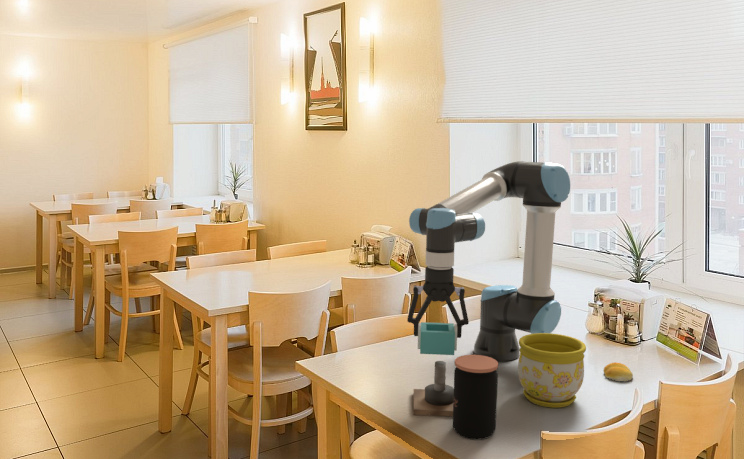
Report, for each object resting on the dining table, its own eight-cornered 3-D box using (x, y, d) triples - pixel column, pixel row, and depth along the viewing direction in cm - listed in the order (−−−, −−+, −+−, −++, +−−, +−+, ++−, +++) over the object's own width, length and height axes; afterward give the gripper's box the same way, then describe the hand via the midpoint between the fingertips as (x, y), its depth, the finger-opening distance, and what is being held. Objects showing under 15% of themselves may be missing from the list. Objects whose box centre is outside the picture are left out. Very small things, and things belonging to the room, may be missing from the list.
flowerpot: (539, 381, 198) (541, 328, 195) (594, 399, 185) (598, 343, 183) (503, 397, 186) (505, 341, 183) (560, 418, 173) (563, 358, 170)
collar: (452, 344, 183) (453, 323, 182) (454, 355, 174) (455, 333, 173) (420, 343, 184) (420, 322, 183) (420, 353, 175) (420, 331, 174)
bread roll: (606, 381, 199) (607, 369, 199) (601, 371, 208) (602, 359, 207) (635, 383, 198) (636, 371, 197) (629, 373, 207) (630, 360, 206)
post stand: (463, 395, 187) (464, 354, 185) (467, 416, 173) (468, 373, 171) (413, 393, 188) (414, 353, 186) (413, 414, 174) (414, 371, 172)
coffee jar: (464, 417, 172) (466, 351, 170) (502, 428, 166) (505, 360, 164) (444, 432, 164) (446, 363, 161) (484, 444, 158) (487, 372, 155)
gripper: (479, 265, 179) (476, 345, 182) (399, 262, 180) (397, 342, 183) (481, 270, 171) (478, 354, 174) (398, 268, 173) (396, 351, 176)
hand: (436, 348), depth 179 cm, fingers closed on collar, 9 cm apart
